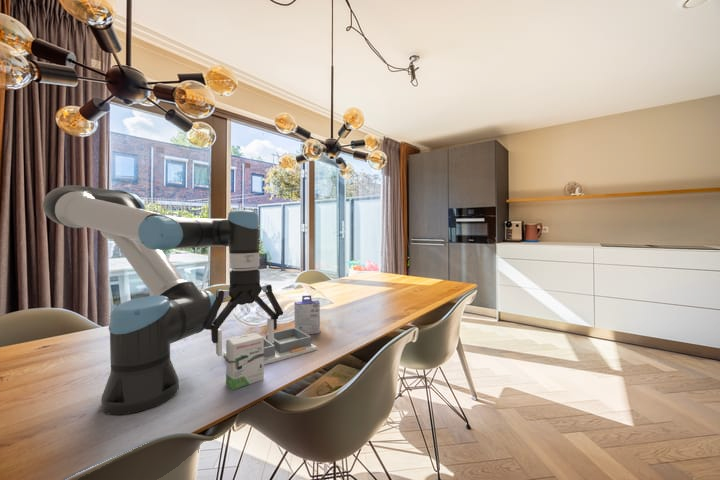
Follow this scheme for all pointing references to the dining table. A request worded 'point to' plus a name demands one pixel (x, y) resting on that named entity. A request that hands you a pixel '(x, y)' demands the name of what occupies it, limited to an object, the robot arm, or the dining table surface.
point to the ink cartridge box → (307, 315)
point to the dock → (286, 345)
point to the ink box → (244, 360)
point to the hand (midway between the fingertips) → (246, 347)
